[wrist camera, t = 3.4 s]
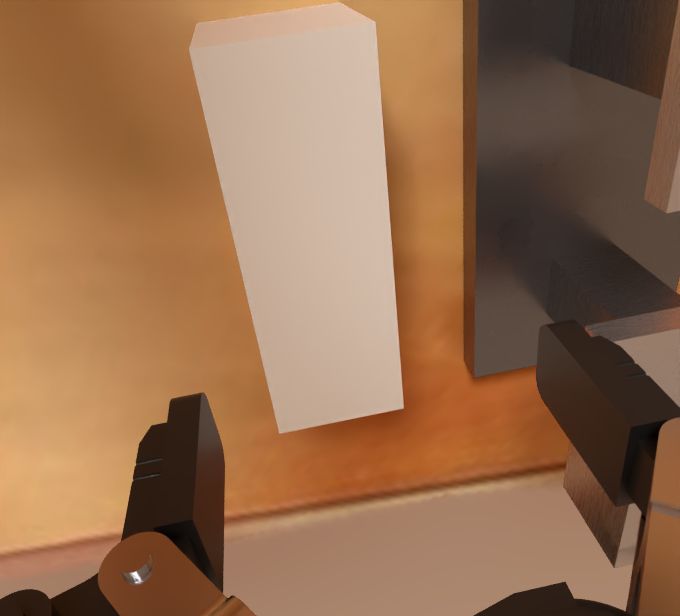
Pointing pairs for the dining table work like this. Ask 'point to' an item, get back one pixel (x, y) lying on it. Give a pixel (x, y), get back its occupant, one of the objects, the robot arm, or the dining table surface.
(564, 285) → the stand
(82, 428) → the dining table surface
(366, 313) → the white rectangular block
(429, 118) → the dining table surface
